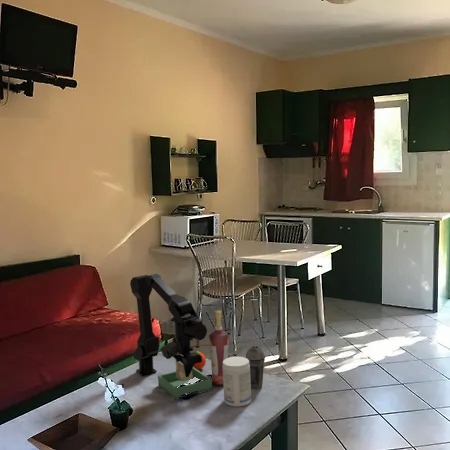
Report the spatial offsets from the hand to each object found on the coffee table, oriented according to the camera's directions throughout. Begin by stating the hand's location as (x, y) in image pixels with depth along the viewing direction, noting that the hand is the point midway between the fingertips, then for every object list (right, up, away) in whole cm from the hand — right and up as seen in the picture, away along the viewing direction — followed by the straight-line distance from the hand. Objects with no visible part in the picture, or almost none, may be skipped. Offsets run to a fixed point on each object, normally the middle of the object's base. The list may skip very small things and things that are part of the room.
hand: (184, 374), depth 193 cm
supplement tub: (+20, -6, -12) cm, 24 cm away
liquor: (+13, -4, +4) cm, 15 cm away
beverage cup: (+27, -5, -1) cm, 27 cm away
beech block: (0, -1, 0) cm, 1 cm away
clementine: (+4, -3, +19) cm, 20 cm away
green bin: (0, -5, 0) cm, 5 cm away
